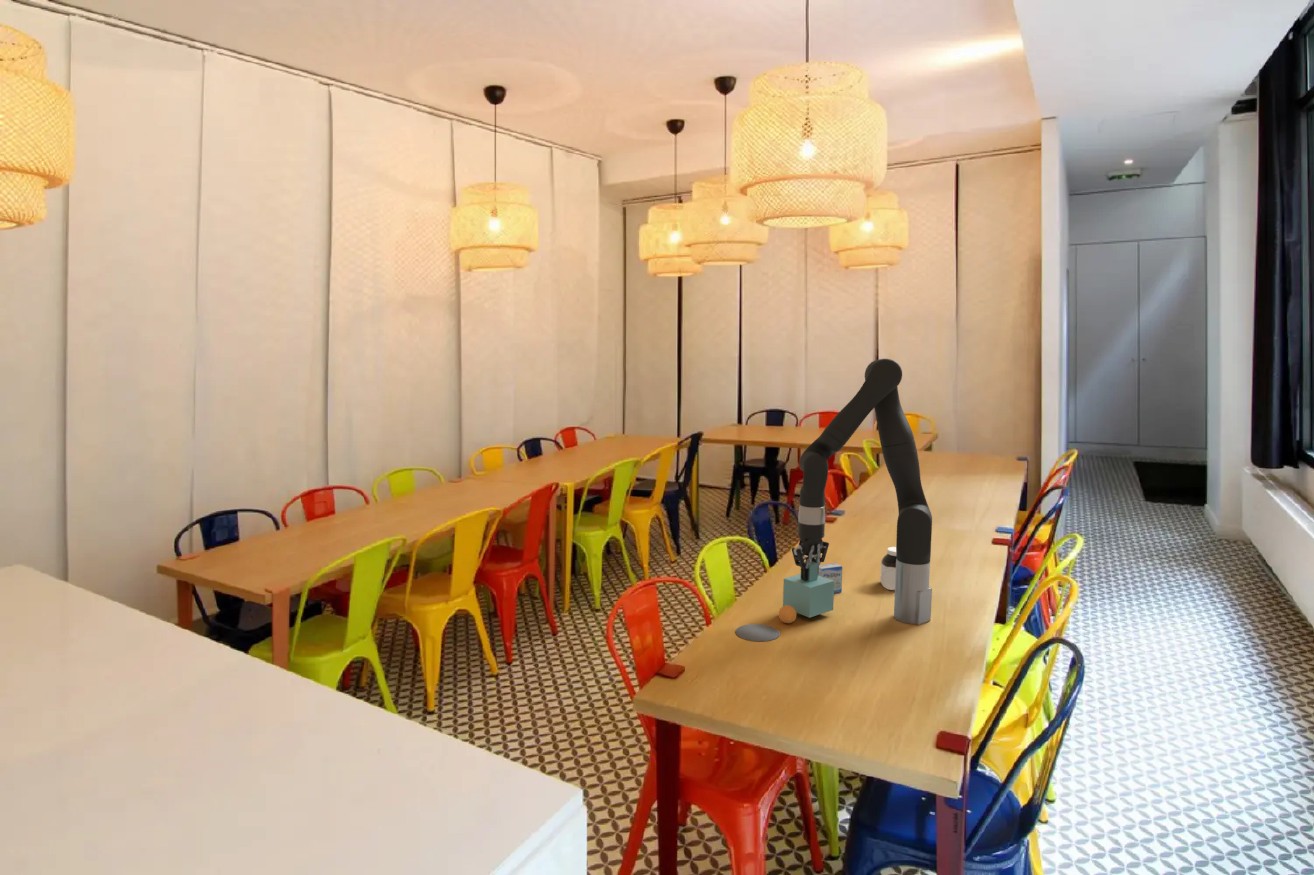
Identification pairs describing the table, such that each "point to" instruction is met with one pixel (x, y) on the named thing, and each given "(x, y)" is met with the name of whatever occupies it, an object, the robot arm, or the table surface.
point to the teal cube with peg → (809, 593)
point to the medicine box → (832, 575)
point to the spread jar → (889, 569)
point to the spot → (757, 632)
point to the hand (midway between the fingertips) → (809, 578)
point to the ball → (787, 614)
